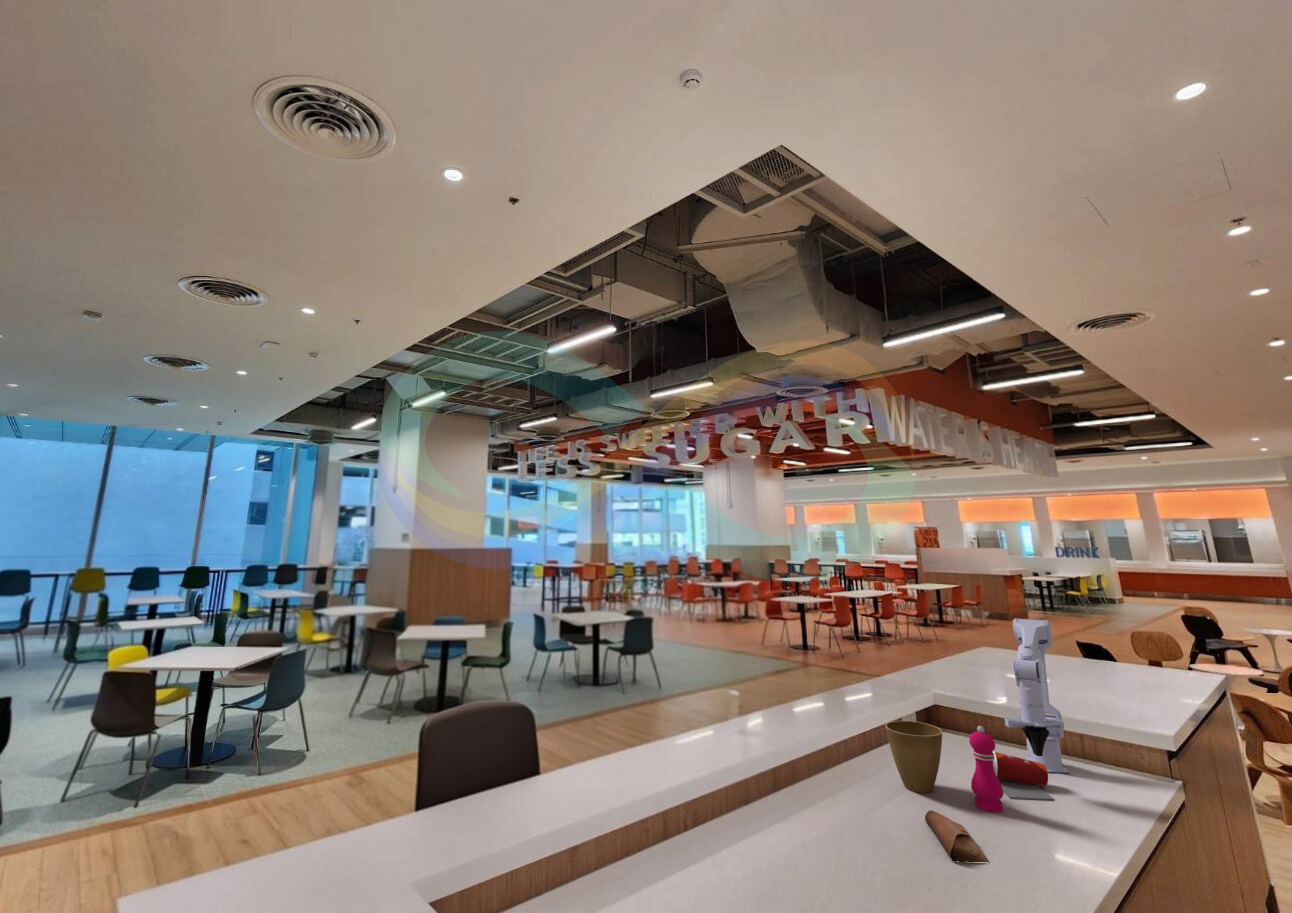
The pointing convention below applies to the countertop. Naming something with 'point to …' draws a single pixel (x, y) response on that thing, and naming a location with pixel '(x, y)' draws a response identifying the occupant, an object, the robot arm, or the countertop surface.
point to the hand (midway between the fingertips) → (1037, 754)
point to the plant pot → (915, 753)
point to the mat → (1023, 791)
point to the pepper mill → (985, 773)
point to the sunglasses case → (954, 838)
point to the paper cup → (1019, 769)
